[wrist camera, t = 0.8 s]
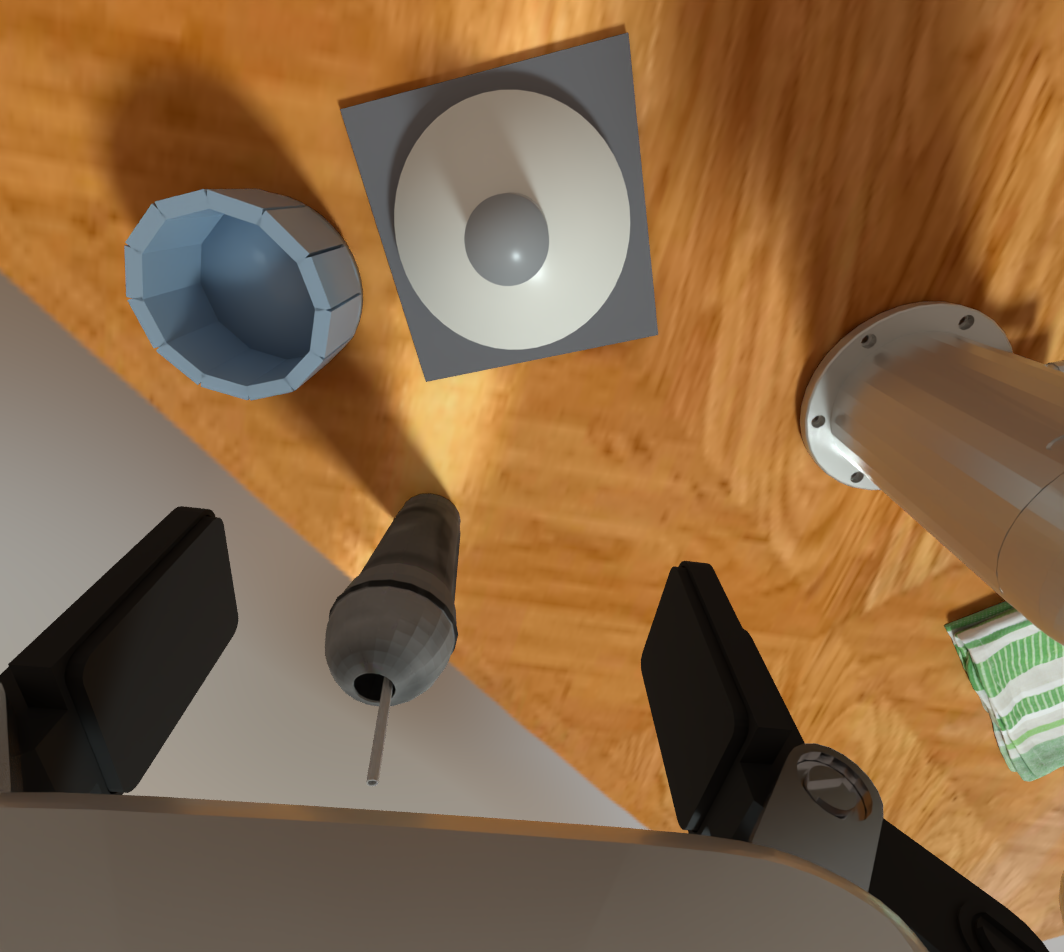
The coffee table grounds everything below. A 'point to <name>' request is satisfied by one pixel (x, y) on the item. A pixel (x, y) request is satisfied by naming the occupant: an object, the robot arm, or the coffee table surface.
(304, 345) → the bowl
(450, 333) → the mat
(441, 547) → the beverage cup
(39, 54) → the coffee table surface
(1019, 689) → the dish towel
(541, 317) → the lid
